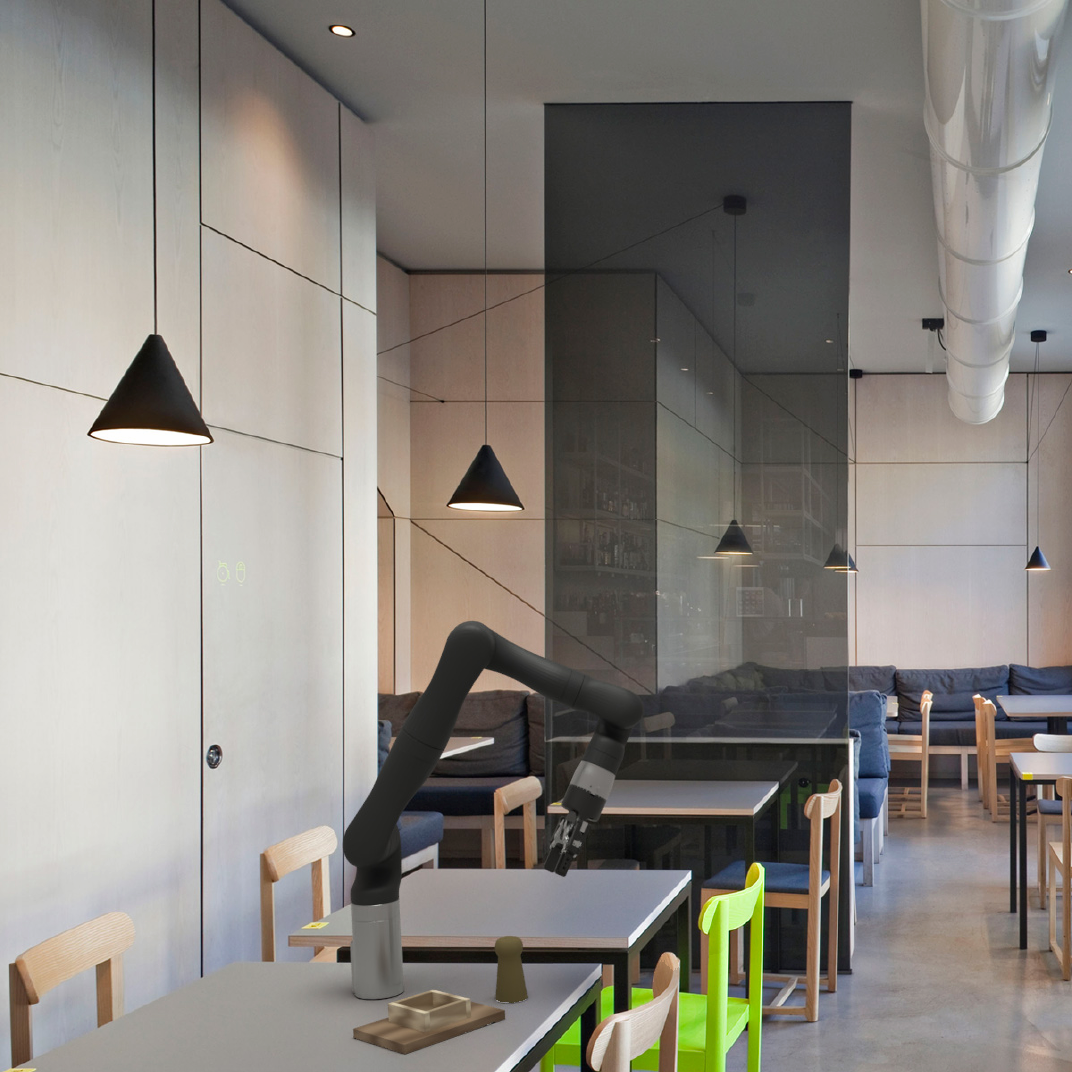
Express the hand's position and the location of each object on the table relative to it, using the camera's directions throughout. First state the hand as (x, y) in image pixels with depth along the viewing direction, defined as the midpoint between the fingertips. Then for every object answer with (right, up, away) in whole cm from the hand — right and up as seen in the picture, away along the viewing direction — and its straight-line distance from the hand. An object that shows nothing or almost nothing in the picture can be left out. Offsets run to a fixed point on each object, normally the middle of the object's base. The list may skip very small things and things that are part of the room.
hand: (553, 872), depth 224 cm
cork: (-8, -23, 0) cm, 24 cm away
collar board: (-21, -22, -15) cm, 34 cm away
